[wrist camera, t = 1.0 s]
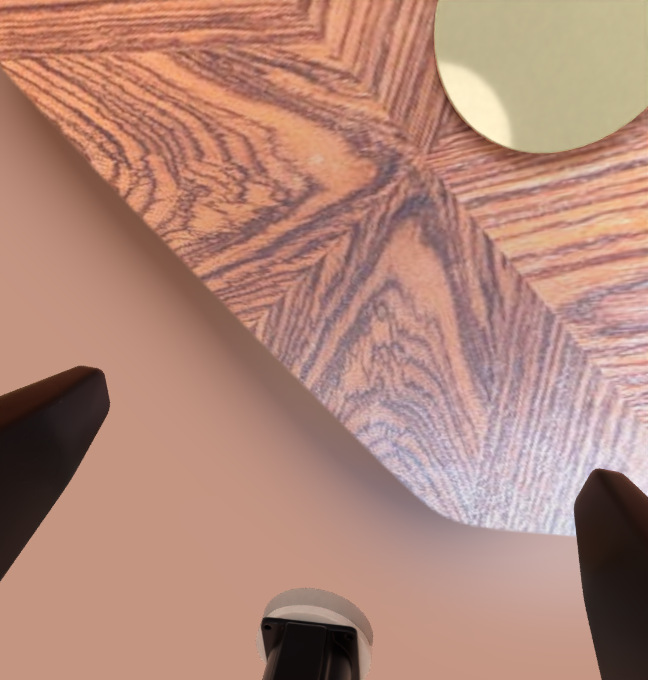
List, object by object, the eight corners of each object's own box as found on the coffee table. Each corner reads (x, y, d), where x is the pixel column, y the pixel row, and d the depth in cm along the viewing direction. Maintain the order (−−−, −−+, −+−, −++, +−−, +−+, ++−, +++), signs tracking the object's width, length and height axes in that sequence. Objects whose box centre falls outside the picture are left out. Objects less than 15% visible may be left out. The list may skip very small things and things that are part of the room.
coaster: (670, 145, 18) (678, 145, 18) (431, 160, 20) (431, 161, 19) (731, -166, 15) (742, -177, 14) (435, -116, 17) (436, -124, 16)
